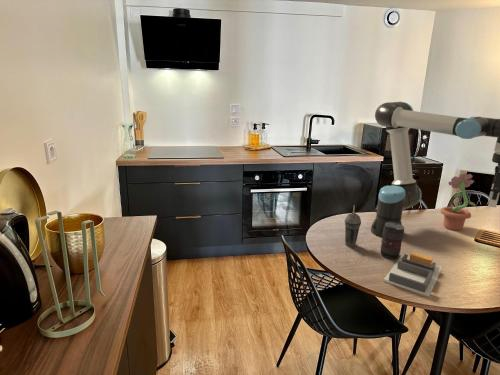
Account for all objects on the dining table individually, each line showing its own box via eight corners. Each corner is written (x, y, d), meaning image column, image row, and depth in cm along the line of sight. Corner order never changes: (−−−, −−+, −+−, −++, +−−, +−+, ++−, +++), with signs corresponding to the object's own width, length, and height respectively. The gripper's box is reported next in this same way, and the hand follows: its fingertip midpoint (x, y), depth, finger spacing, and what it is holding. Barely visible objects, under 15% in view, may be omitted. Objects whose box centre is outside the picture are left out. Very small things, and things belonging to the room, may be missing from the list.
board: (383, 281, 132) (384, 272, 131) (400, 257, 150) (402, 249, 149) (429, 296, 123) (431, 287, 121) (441, 269, 141) (443, 260, 140)
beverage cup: (359, 243, 163) (364, 203, 157) (357, 249, 157) (362, 208, 151) (343, 240, 166) (347, 200, 160) (340, 246, 160) (345, 205, 154)
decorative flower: (463, 223, 187) (475, 170, 179) (474, 234, 174) (487, 177, 166) (434, 221, 190) (444, 168, 181) (443, 231, 177) (454, 175, 168)
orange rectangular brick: (409, 261, 145) (410, 254, 144) (411, 258, 147) (412, 251, 147) (430, 267, 141) (431, 260, 140) (431, 264, 143) (432, 257, 142)
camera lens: (397, 264, 145) (403, 231, 140) (377, 258, 149) (382, 226, 144) (400, 256, 151) (406, 224, 147) (381, 251, 155) (386, 220, 151)
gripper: (517, 160, 129) (502, 212, 136) (515, 150, 149) (503, 196, 155) (493, 157, 133) (480, 208, 140) (494, 147, 153) (483, 193, 159)
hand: (492, 202), depth 148 cm, fingers open, 13 cm apart
